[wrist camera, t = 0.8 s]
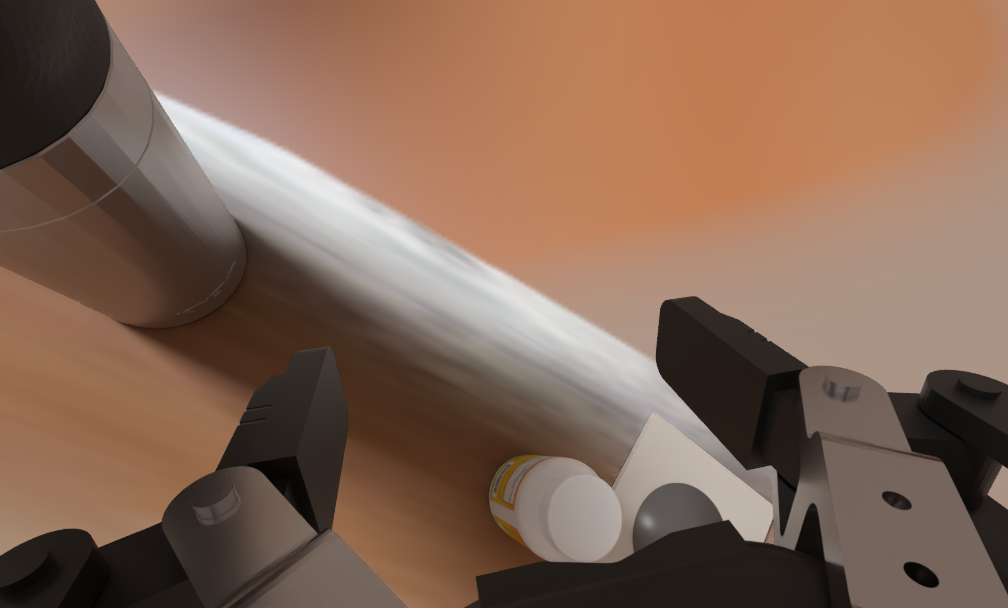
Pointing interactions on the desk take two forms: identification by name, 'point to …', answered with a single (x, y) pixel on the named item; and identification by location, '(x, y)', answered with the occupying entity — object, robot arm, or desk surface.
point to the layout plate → (679, 492)
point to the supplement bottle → (556, 508)
